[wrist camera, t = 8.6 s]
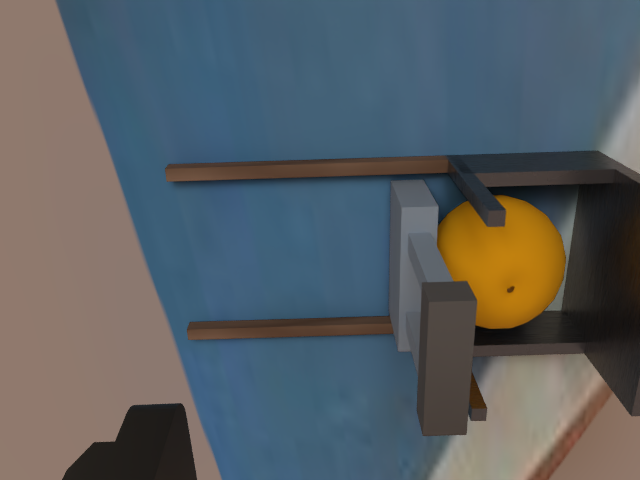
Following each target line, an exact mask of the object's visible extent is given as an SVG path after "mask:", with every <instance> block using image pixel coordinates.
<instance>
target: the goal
mask: <svg viewBox="0 0 640 480" xmlns="http://www.w3.org/2000/svg"><path fill="white" fill-rule="evenodd" d="M445 157H446V158H447V159H448V171H447V173H448V174H449V176H450V177H451V178H452V180H453V181H454V182H455V184H456V185H457V186H458V188H459V189H460V190H461V192H462V193H463V195H464V196H465V197H466V199H467V200H468V201H469V203H470V204H471V205H472V207H473V208H474V209H475V211H476V212H477V214H478V215H479V216H480V218H481V219H482V220H483V222H484V223H485V224H486V226H487V227H505V218H506V209H505V208H504V207H503V206H502V205H501V204H500V203H499V202H498V200H497V199H496V198H495V197H494V196H493V195H492V194H491V192H490V191H489V190H488V189H487V188H486V187H499V186H531V185H563V184H580V187H579V194H578V201H577V208H576V215H575V222H574V228H573V235H572V242H571V249H570V256H569V263H568V270H567V277H566V284H565V290H564V297H563V304H562V311H543V312H542V313H541V314H539V315H538V316H536V317H535V318H533V319H532V320H530V321H529V322H527V323H524V324H521V325H519V326H516V327H513V328H503V329H489V328H485V327H480V326H476V325H475V336H474V348H473V357H480V356H513V355H546V354H580V353H584V354H585V355H586V356H587V358H588V359H589V360H590V362H591V363H592V364H593V366H594V367H595V368H596V370H597V371H598V372H599V374H600V375H601V376H602V378H603V379H604V380H605V382H606V383H607V384H608V386H609V387H610V388H611V390H612V391H613V392H614V394H615V395H616V396H617V398H618V399H619V400H620V402H621V403H622V404H623V406H624V407H625V408H626V410H627V411H628V412H629V414H630V415H631V416H640V174H639V173H637V172H635V171H633V170H631V169H630V168H628V167H626V166H624V165H622V164H621V163H619V162H617V161H615V160H613V159H612V158H610V157H608V156H606V155H605V154H603V153H601V152H599V151H573V152H541V153H510V154H478V155H447V156H445ZM468 414H469V417H470V420H471V421H486V414H487V407H486V405H485V402H484V400H483V397H482V395H481V393H480V390H479V388H478V385H477V383H476V381H475V378H474V376H473V373H472V372H471V384H470V397H469V409H468Z"/></svg>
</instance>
